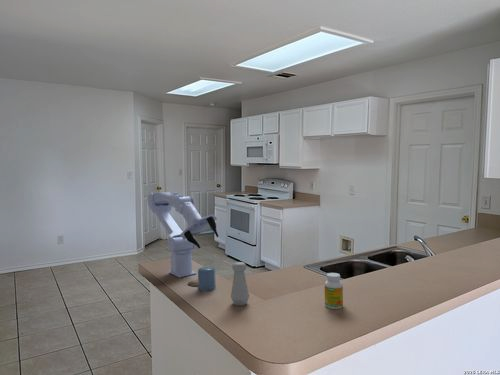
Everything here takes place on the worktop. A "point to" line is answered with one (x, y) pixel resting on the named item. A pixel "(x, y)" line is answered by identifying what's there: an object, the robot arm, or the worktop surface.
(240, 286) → the salt shaker
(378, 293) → the worktop surface
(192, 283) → the disc
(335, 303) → the supplement bottle
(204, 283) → the cup
